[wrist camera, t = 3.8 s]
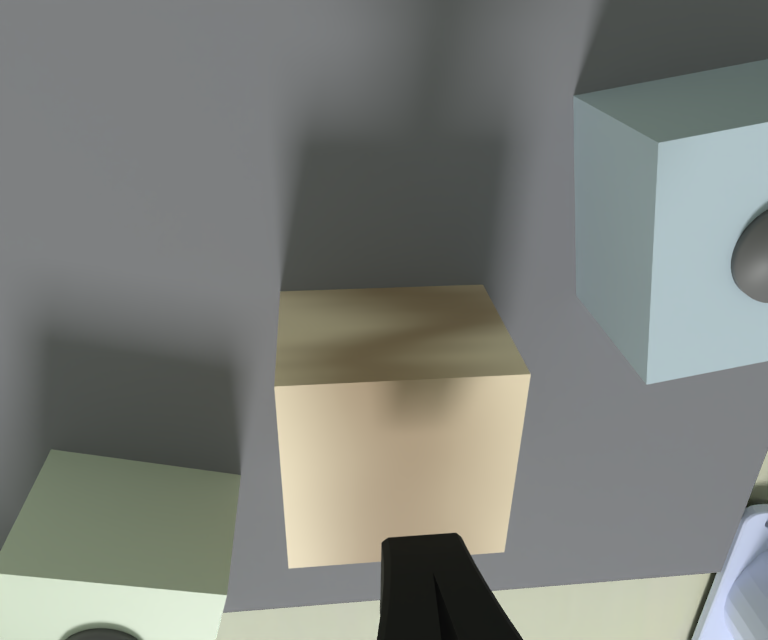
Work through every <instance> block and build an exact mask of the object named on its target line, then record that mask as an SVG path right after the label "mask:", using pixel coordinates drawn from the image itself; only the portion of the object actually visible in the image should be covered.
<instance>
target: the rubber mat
mask: <svg viewBox="0 0 768 640" xmlns="http://www.w3.org/2000/svg"><path fill="white" fill-rule="evenodd" d="M765 59H768V0H0V551H1V549H2V547H3V545H4V543H5V541H6V539H7V537H8V535H9V533H10V531H11V529H12V527H13V525H14V523H15V521H16V519H17V517H18V515H19V513H20V511H21V509H22V507H23V505H24V503H25V501H26V499H27V497H28V495H29V493H30V491H31V489H32V487H33V485H34V483H35V481H36V479H37V477H38V475H39V473H40V471H41V469H42V467H43V465H44V463H45V461H46V458H47V456H48V454H49V452H50V450H51V449H53V450H60V451H67V452H75V453H82V454H89V455H97V456H104V457H112V458H119V459H126V460H134V461H141V462H148V463H156V464H163V465H171V466H178V467H185V468H193V469H200V470H207V471H215V472H222V473H230V474H237V475H241V478H240V487H239V496H238V504H237V513H236V522H235V531H234V539H233V548H232V557H231V565H230V574H229V583H228V591H227V598H226V602H225V605H224V609H223V613H226V612H239V611H251V610H263V609H275V608H288V607H300V606H312V605H325V604H337V603H349V602H361V601H374V600H380V590H381V562H369V563H356V564H342V565H329V566H316V567H303V568H288V555H287V542H286V530H285V517H284V504H283V491H282V479H281V466H280V453H279V441H278V428H277V415H276V402H275V390H274V383H275V367H276V351H277V335H278V319H279V303H280V291H307V290H336V289H366V288H395V287H425V286H454V285H483V286H484V287H485V289H486V291H487V293H488V295H489V297H490V299H491V301H492V302H493V304H494V306H495V308H496V310H497V312H498V314H499V316H500V317H501V319H502V321H503V323H504V325H505V327H506V329H507V331H508V332H509V334H510V336H511V338H512V340H513V342H514V344H515V345H516V347H517V349H518V351H519V353H520V355H521V357H522V359H523V360H524V362H525V364H526V366H527V368H528V370H529V372H530V374H531V377H530V383H529V390H528V397H527V403H526V410H525V417H524V424H523V430H522V437H521V444H520V450H519V457H518V464H517V471H516V477H515V484H514V491H513V497H512V504H511V511H510V518H509V524H508V531H507V538H506V544H505V551H504V552H501V553H488V554H474V555H471V556H472V558H473V560H474V562H475V564H476V566H477V567H478V569H479V571H480V573H481V574H482V576H483V578H484V580H485V581H486V583H487V584H488V586H489V588H490V589H491V591H496V590H508V589H521V588H533V587H545V586H558V585H570V584H582V583H594V582H607V581H619V580H631V579H643V578H656V577H668V576H680V575H692V574H705V573H717V572H721V570H722V568H723V565H724V562H725V560H726V557H727V555H728V552H729V549H730V547H731V544H732V542H733V539H734V536H735V534H736V531H737V529H738V526H739V523H740V521H741V518H742V516H743V513H744V510H745V508H746V505H747V503H748V500H749V497H750V495H751V492H752V490H753V487H754V484H755V482H756V479H757V477H758V474H759V471H760V469H761V466H762V464H763V461H764V458H765V456H766V453H767V451H768V361H765V362H760V363H755V364H750V365H745V366H740V367H735V368H729V369H724V370H719V371H714V372H709V373H704V374H699V375H694V376H689V377H683V378H678V379H673V380H668V381H663V382H658V383H653V384H648V385H646V384H645V382H644V381H643V380H642V378H641V377H640V376H639V375H638V373H637V372H636V371H635V370H634V368H633V367H632V366H631V364H630V363H629V362H628V361H627V359H626V358H625V357H624V356H623V354H622V353H621V352H620V350H619V349H618V348H617V347H616V345H615V344H614V343H613V342H612V340H611V339H610V338H609V336H608V335H607V334H606V333H605V331H604V330H603V329H602V327H601V326H600V325H599V324H598V322H597V321H596V320H595V319H594V317H593V316H592V315H591V313H590V312H589V311H588V310H587V308H586V307H585V306H584V305H583V303H582V302H581V301H580V299H579V298H578V297H577V296H576V247H575V177H574V108H573V96H575V95H580V94H585V93H590V92H596V91H601V90H606V89H612V88H617V87H622V86H628V85H633V84H638V83H643V82H649V81H654V80H659V79H665V78H670V77H675V76H681V75H686V74H691V73H696V72H702V71H707V70H712V69H718V68H723V67H728V66H734V65H739V64H744V63H749V62H755V61H760V60H765Z"/></svg>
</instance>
